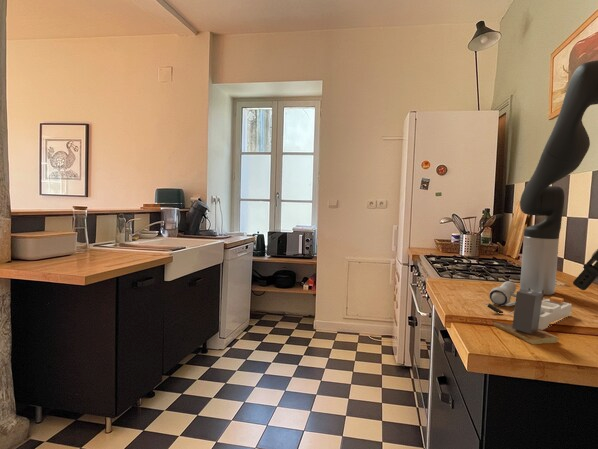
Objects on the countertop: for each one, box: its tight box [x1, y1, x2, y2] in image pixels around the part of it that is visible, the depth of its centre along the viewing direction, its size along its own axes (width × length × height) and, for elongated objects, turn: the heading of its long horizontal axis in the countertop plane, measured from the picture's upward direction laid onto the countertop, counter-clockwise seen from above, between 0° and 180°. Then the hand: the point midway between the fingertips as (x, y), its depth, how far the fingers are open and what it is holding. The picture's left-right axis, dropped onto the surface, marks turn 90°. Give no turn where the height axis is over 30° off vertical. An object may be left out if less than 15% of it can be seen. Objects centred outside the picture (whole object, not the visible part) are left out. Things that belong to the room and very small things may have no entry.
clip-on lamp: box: [484, 280, 544, 315], centre depth 95 cm, size 12×6×18 cm
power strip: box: [538, 296, 573, 331], centre depth 88 cm, size 21×6×4 cm, turn 127°
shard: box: [491, 320, 560, 345], centre depth 78 cm, size 11×8×2 cm
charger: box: [512, 289, 544, 334], centre depth 76 cm, size 4×4×8 cm
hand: (586, 281), depth 69 cm, fingers open, 8 cm apart
